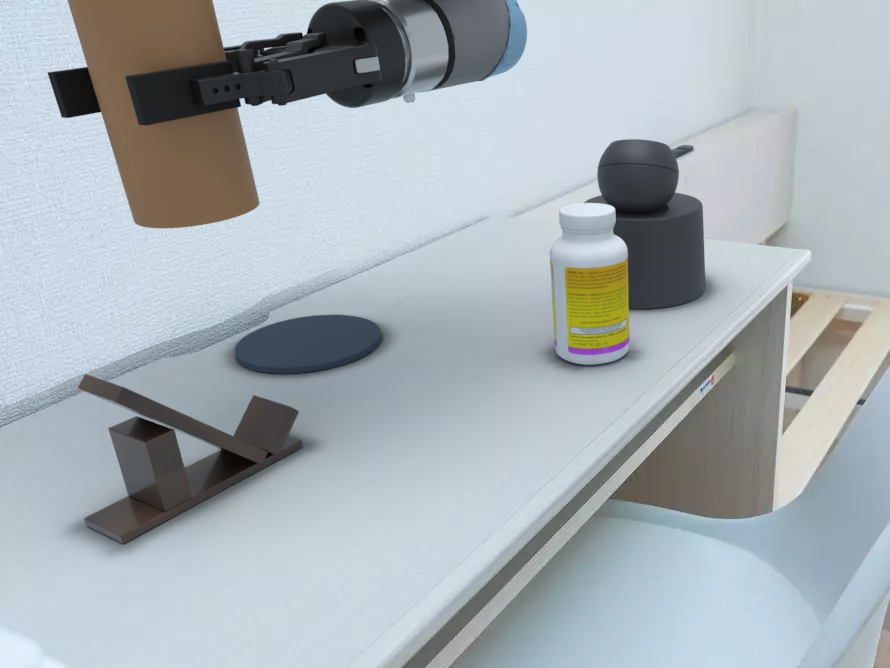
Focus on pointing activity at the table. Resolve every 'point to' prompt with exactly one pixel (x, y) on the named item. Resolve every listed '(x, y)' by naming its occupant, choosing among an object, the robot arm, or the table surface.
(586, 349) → the supplement bottle
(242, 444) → the roll stand
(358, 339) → the mat
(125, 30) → the paper roll
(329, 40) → the robot arm
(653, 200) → the gray pot with base
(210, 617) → the table surface
